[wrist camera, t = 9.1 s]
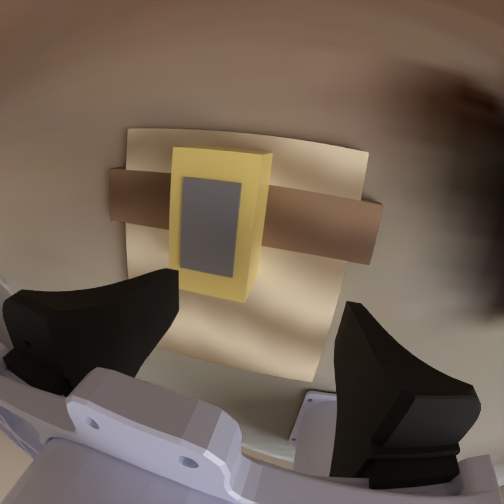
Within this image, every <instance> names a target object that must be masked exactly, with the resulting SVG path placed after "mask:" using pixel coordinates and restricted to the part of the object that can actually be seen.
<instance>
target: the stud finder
mask: <svg viewBox="0 0 504 504" xmlns="http://www.w3.org/2000/svg"><path fill="white" fill-rule="evenodd" d="M272 156H273V153H270V152H262V151H254V150H245V149H236V148H225V147H214V146H181V147H173V156H172V171H171V189H170V215H169V269H174V270H178V271H179V289H182V290H186V291H191V292H195V293H199V294H204V295H209V296H213V297H218V298H222V299H227V300H232V301H237V302H242V303H245V301H246V299H247V297H248V294H249V292H250V290H251V288H252V285H253V283H254V281H255V279H256V276H257V274H258V267H259V260H260V252H261V244H262V236H263V229H264V221H265V213H266V205H267V197H268V189H269V181H270V173H271V165H272Z"/></svg>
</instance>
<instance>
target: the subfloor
mask: <svg viewBox="0 0 504 504" xmlns="http://www.w3.org/2000/svg"><path fill="white" fill-rule="evenodd" d="M181 146H214V147H225V148H236V149H245V150H254V151H262V152H270V153H273V156H272V165H271V173H270V181H269V189H268V197H267V205H266V213H265V221H264V229H263V236H262V244H261V252H260V260H259V267H258V274H257V276H256V279H255V281H254V283H253V285H252V288H251V290H250V292H249V294H248V297H247V299H246V301H245V303H242V302H237V301H232V300H227V299H222V298H218V297H213V296H209V295H204V294H199V293H195V292H191V291H186V290H182V289H179V312H178V314H177V316H176V318H175V320H174V321H173V323H172V325H171V327H170V328H169V329H168V331H167V332H166V334H165V335H164V336H163V337H162V339H161V340H160V341H159V343H158V344H157V345H156V347H160V348H163V349H166V350H169V351H173V352H176V353H180V354H183V355H187V356H190V357H194V358H198V359H202V360H205V361H209V362H213V363H217V364H221V365H225V366H230V367H234V368H238V369H243V370H247V371H252V372H257V373H262V374H267V375H272V376H277V377H283V378H288V379H294V380H300V381H306V382H312V381H313V378H314V375H315V372H316V369H317V366H318V363H319V360H320V357H321V354H322V351H323V348H324V345H325V341H326V338H327V335H328V332H329V328H330V325H331V322H332V318H333V315H334V311H335V308H336V304H337V300H338V297H339V293H340V289H341V285H342V282H343V278H344V274H345V270H346V266H347V262H348V261H350V262H355V263H361V264H367V265H369V264H370V260H371V257H372V253H373V249H374V245H375V241H376V236H377V232H378V228H379V223H380V219H381V214H382V210H383V205H382V204H381V203H380V202H376V201H371V200H366V199H361V196H362V191H363V185H364V179H365V174H366V167H367V161H368V155H369V153H368V152H364V151H359V150H354V149H349V148H344V147H339V146H333V145H328V144H322V143H316V142H310V141H304V140H297V139H290V138H282V137H275V136H266V135H257V134H248V133H237V132H225V131H211V130H192V129H155V128H138V129H128V137H127V154H126V168H120V167H117V168H112V169H110V220H111V221H117V222H123V223H126V248H127V266H128V279H131V278H134V277H137V276H140V275H143V274H146V273H149V272H152V271H156V270H159V269H164V268H169V215H170V189H171V171H172V156H173V147H181Z"/></svg>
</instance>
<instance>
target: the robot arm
mask: <svg viewBox="0 0 504 504" xmlns="http://www.w3.org/2000/svg"><path fill="white" fill-rule="evenodd" d="M2 311H3V318H4V321H5V324H6V327H7V330H8V332H9V336H10V338H11V341H12V343H13V346H14V348H13V349H12V350H11V351H10V352H9V350H8V349H7V348H6V347H5V346H4V345H3V344H2V343H0V429H1V430H2V431H3V432H4V433H5V434H6V435H7V436H8V437H9V438H10V439H11V440H12V441H13V442H14V443H15V444H16V445H18V446H19V447H20V448H21V449H22V450H23V451H24V452H25V453H26V454H28V455H29V456H30V457H31V458H32V459H33V460H34V461H33V462H32V463H31V464H30V466H29V467H28V468H27V470H26V471H25V472H24V473H23V475H22V476H21V477H20V478H19V480H18V481H17V482H16V484H15V485H14V487H13V488H12V489H11V490H10V492H9V493H8V494H7V496H6V497H5V498H4V500H3V501H2V502H1V504H503V502H502V497H501V493H500V489H499V485H498V481H497V478H496V474H495V471H494V467H493V464H492V461H491V457H490V455H488V454H487V455H482V456H477V457H471V458H467V459H464V460H462V461H460V462H457V458H456V455H458V454H459V452H460V447H459V444H458V442H459V441H460V440H461V439H462V438H463V437H464V436H465V434H466V433H467V432H468V431H469V430H470V428H471V427H472V426H473V425H474V423H475V422H476V420H477V418H478V417H479V414H480V411H481V403H480V401H479V399H478V396H477V394H476V392H475V390H474V387H473V385H470V384H468V383H465V382H462V381H460V380H457V379H455V378H452V377H450V376H448V375H446V374H444V373H442V372H440V371H438V370H436V369H434V368H432V367H431V366H429V365H427V364H426V363H424V362H423V361H421V360H420V359H418V358H417V357H415V356H414V355H413V354H411V353H410V352H409V351H408V350H406V349H405V348H404V347H403V346H401V345H400V344H399V343H398V342H397V341H396V340H395V339H394V338H393V337H392V336H391V335H390V334H389V333H388V332H387V331H386V330H385V329H384V328H383V327H382V326H381V325H380V324H379V323H378V322H377V321H376V319H375V318H374V317H373V316H372V315H371V314H370V313H369V311H368V310H367V309H366V308H365V307H364V306H363V305H362V304H361V303H356V302H349V301H347V302H346V305H345V309H344V312H343V316H342V319H341V323H340V326H339V329H338V333H337V336H336V339H335V348H334V369H335V382H336V394H332V393H325V392H317V391H308V392H307V393H306V395H305V398H304V401H303V403H302V406H301V409H300V412H299V414H298V417H297V420H296V422H295V425H294V427H293V430H292V432H291V435H290V437H289V440H288V445H290V446H295V447H296V453H295V460H294V467H293V470H289V469H286V468H283V467H280V466H277V465H274V464H271V463H268V462H265V461H262V460H260V459H257V458H254V457H252V456H249V455H246V454H244V453H241V441H242V434H241V431H240V427H239V424H238V423H237V422H236V421H235V420H234V419H233V418H232V417H231V416H230V415H228V414H227V413H226V412H225V411H224V410H223V409H222V408H220V407H217V406H215V405H212V404H210V403H208V402H206V401H203V400H201V399H197V398H194V397H190V396H187V395H184V394H180V393H177V392H174V391H171V390H168V389H165V388H162V387H159V386H156V385H153V384H150V383H147V382H144V381H141V380H139V379H136V378H135V376H136V374H137V372H138V370H139V369H140V367H141V365H142V364H143V363H144V361H145V360H146V358H147V357H148V356H149V354H150V353H151V352H152V350H153V349H154V348H155V347H156V345H157V344H158V343H159V341H160V340H161V339H162V337H163V336H164V335H165V334H166V332H167V331H168V329H169V328H170V327H171V325H172V323H173V321H174V320H175V318H176V316H177V314H178V312H179V271H178V270H174V269H169V268H164V269H159V270H156V271H152V272H149V273H146V274H143V275H140V276H137V277H134V278H131V279H128V280H124V281H121V282H117V283H114V284H110V285H106V286H102V287H97V288H91V289H84V290H75V291H60V292H48V291H33V290H24V289H23V290H20V291H18V292H17V293H15V294H14V295H12V296H11V297H9V298H8V299H6V300H5V301H4V303H3V309H2Z"/></svg>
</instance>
